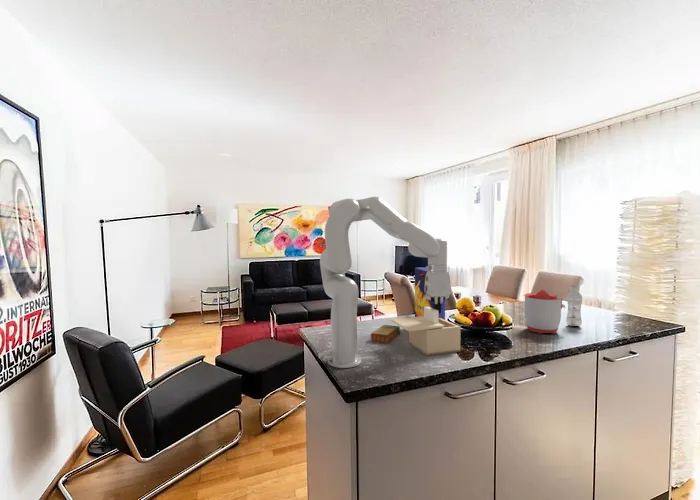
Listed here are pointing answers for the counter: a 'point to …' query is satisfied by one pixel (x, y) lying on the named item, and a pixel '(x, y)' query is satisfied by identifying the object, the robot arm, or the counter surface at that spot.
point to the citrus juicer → (543, 312)
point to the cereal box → (423, 294)
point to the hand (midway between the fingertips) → (437, 312)
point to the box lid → (420, 321)
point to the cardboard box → (437, 339)
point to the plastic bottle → (574, 307)
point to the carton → (385, 334)
